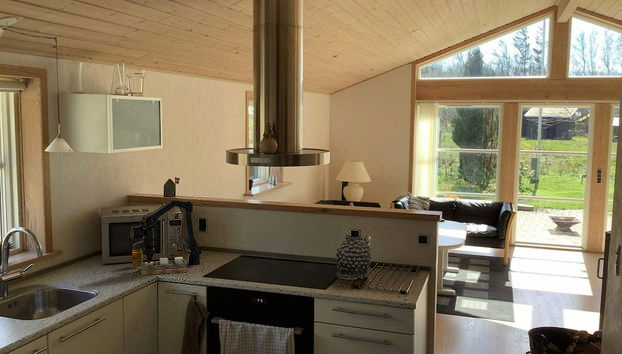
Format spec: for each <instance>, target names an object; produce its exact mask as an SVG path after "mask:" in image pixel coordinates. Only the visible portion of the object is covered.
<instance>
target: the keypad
mask: <svg viewBox="0 0 622 354" xmlns="http://www.w3.org/2000/svg"><path fill="white" fill-rule="evenodd" d="M152 262H153V265H147V266H145V262H143V263H141V268H140V274H141V276H150V275H152V276H153V275H162V274H163V275H166V274H177V273H178V274H179V273H180V272H181V273H188V272H189V270H188V269H189V268H188V262H187V260H186V259H183V263H178V264H175V260H168V264H162V265H160V261H152Z"/></svg>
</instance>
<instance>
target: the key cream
mask: <svg viewBox="0 0 622 354" xmlns="http://www.w3.org/2000/svg"><path fill="white" fill-rule="evenodd" d="M168 261H169V259H168V257H160V258H159V262H160V265H162V264H168Z"/></svg>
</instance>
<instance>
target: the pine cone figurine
mask: <svg viewBox="0 0 622 354" xmlns="http://www.w3.org/2000/svg"><path fill="white" fill-rule="evenodd" d="M371 241H372V237H371V236H370V235H366V236H364V239H363V238H362V236H359V235H358V236H353V234H352V236H351V235H348V234H345V238H344V239H343V240H342V242H341V243H340V244H339V245H338V247H337V249H336V253H335V260H336V268H337V269H338V271H337V272H336V276H337V278H338V279H343V280H358V279H357V278H361V279H364V278H363V277H366V278H368V277H369V272H368V271H369V268H370V264H371V261H370V260H371V256H372V255H371V248H370V247H371V244H372V243H371ZM367 276H368V277H367Z"/></svg>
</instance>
